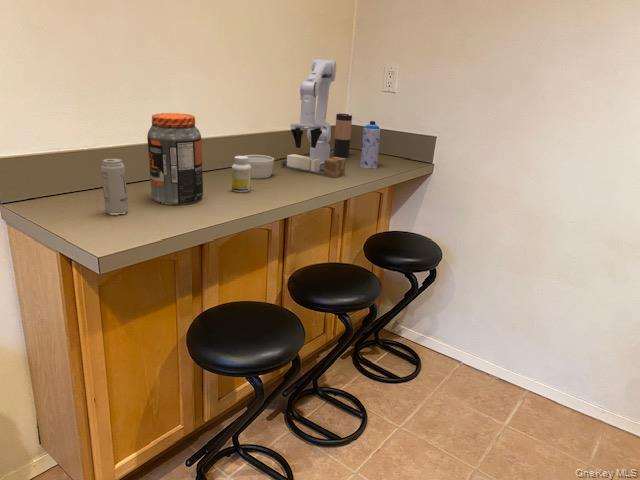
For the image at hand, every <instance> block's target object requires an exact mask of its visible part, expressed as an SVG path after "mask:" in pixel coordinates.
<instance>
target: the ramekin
mask: <svg viewBox="0 0 640 480" xmlns="http://www.w3.org/2000/svg"><path fill="white" fill-rule="evenodd" d="M245 156H247V157H248V164H249V165H250V166H251V179H256V180H257V179H267V178H270V177H271V176H272V174H273V171H274V170H273V169H274V163H275V158H274V157H272V156H269V155H263V154H248V155H247V154H245Z"/></svg>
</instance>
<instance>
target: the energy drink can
mask: <svg viewBox="0 0 640 480" xmlns="http://www.w3.org/2000/svg"><path fill="white" fill-rule="evenodd" d="M100 172H101V180H102V191H103V200H104V209H105V210H104V211H105V212H107V213H108V212H109V213H123V212H126V211H127V212H128V210H129V201H128V189H127V177H126V166H125V164H124V163H123V159H120V158H105V159H102V164H101V166H100Z"/></svg>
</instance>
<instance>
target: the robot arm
mask: <svg viewBox="0 0 640 480" xmlns="http://www.w3.org/2000/svg"><path fill="white" fill-rule="evenodd" d="M336 73H337V61H336V60H335V59H322V58H313V59H312V61H311V72H310V73H309V74H308V76H307V77H306V79H305V80H303V81H301V83H300V86H299V93H300V95H299V96H300V97H299V98H300V103H301V105H300V120H299V123H290V131H291V133H292V136H293V140H294V143H295V148H298V149H301V146H302V137H303V134H304V131H303V130H307V133H306V137H307V140H308V142H309V143H310V146H309V148H310V149H309V157H312V158H317V159H321V160H320V165H324V164H325V159H328V158H331V157H330V154H331V146H330V144H329V142H330V141H331V135H332V126H331V124H330V123H329V122H328V121H327V113H328V112H327V111H328V105H329V104H328V103H329V102H328V101H329V94H330V86H331V84H332V82H334V81H335V79H336V76H337V75H336Z"/></svg>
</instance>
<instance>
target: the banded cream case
mask: <svg viewBox="0 0 640 480" xmlns="http://www.w3.org/2000/svg"><path fill="white" fill-rule="evenodd" d="M286 160H287V166H290V167H295V168H300V169H304V170H309V171H314V172H321V171H320V168H321V164H320V160H321V159H317V158H312V157H310V156H306V155H302V154H300V155H299V154H295V153H293V154H287V155H286Z"/></svg>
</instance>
